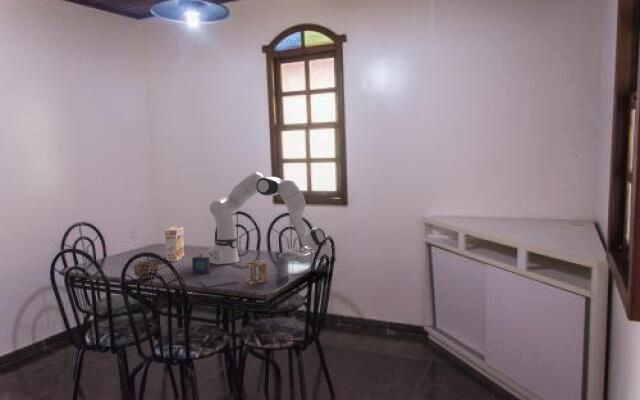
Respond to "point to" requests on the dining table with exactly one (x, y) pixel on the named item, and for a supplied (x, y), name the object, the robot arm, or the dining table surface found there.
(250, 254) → the dining table surface
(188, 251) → the dining table surface
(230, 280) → the mat
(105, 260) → the dining table surface
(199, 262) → the flask
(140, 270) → the pine cone
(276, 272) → the dining table surface
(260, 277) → the stool
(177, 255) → the coffeecake box
